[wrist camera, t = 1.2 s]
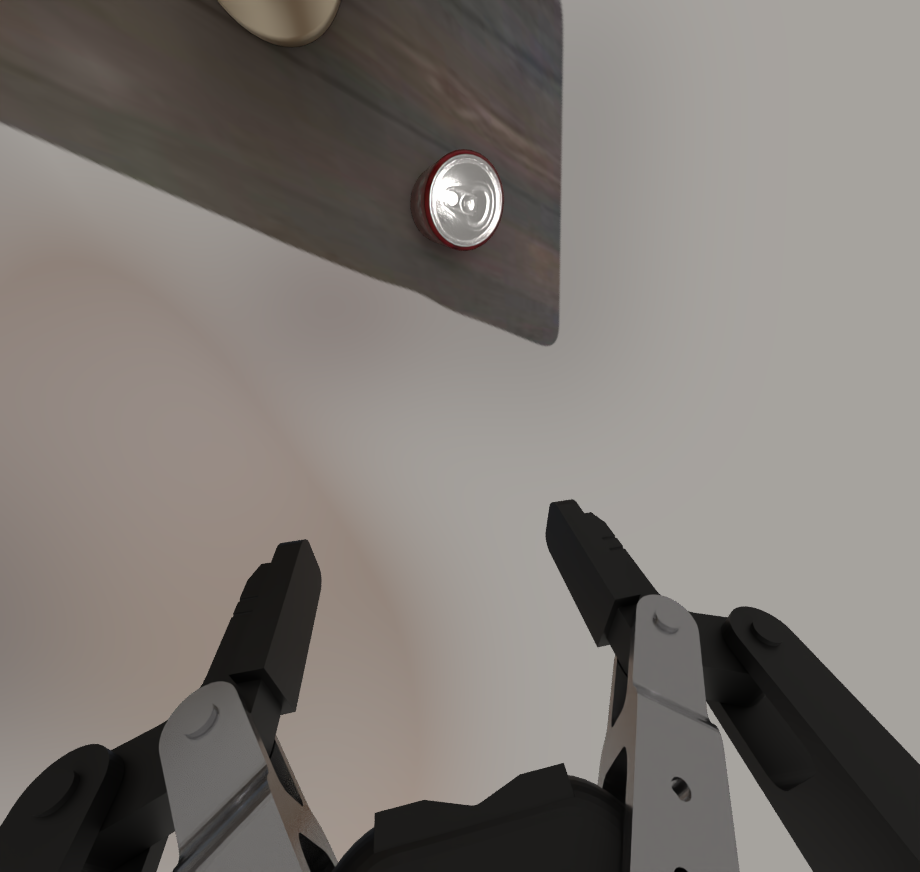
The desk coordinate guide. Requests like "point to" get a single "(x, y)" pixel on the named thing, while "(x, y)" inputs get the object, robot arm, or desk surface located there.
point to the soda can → (458, 200)
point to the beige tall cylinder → (283, 19)
